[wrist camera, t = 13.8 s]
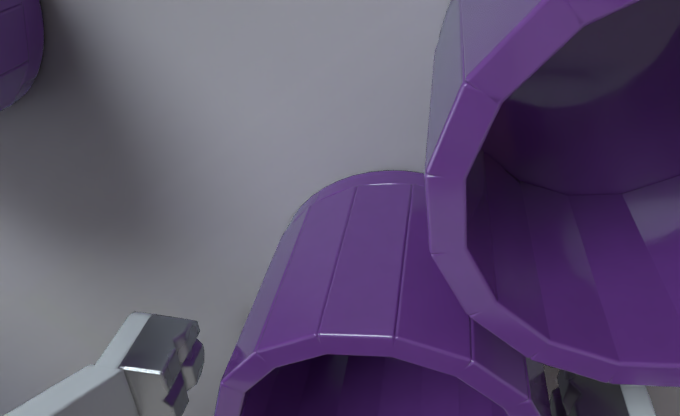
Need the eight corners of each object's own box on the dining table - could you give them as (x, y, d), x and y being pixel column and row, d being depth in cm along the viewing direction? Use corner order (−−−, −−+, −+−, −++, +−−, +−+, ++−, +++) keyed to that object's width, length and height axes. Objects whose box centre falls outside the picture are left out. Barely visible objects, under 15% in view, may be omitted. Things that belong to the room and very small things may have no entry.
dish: (771, -233, 7) (1142, -306, 3) (824, 129, 10) (1072, 327, 6) (381, -10, 10) (332, 97, 6) (504, 232, 13) (528, 420, 9)
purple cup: (461, 127, 11) (466, 291, 7) (558, 321, 14) (601, 520, 10) (237, 222, 14) (149, 382, 10) (354, 371, 17) (323, 545, 12)
